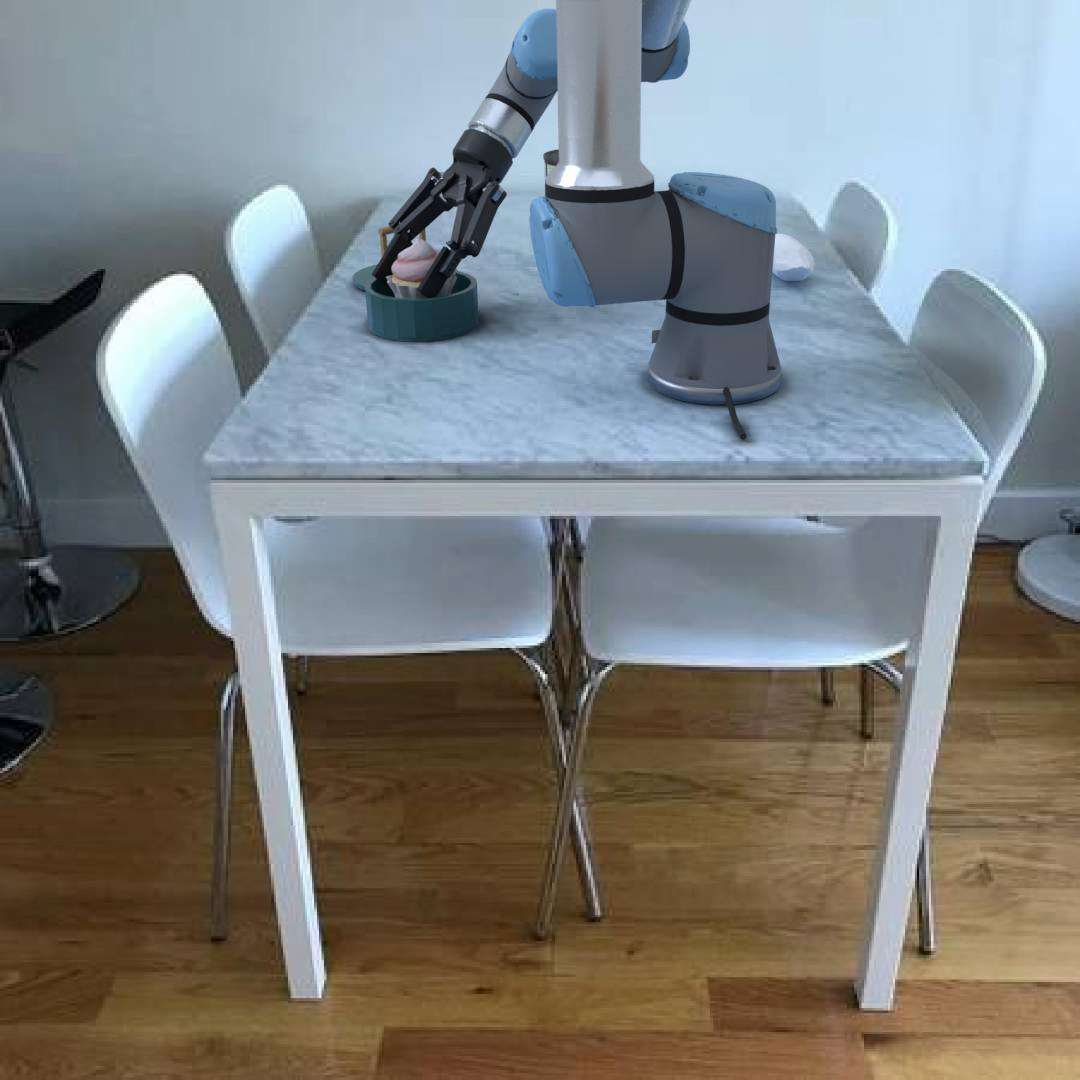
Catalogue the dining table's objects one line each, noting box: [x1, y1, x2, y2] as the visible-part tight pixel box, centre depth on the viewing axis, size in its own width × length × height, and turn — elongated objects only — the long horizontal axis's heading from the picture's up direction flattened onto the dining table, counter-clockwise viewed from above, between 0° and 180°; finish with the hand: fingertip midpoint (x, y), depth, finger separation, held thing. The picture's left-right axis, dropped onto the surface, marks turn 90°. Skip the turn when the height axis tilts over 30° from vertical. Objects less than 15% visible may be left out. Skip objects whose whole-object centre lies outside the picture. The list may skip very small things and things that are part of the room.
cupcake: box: [386, 236, 457, 299], centre depth 161 cm, size 9×9×10 cm
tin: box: [364, 270, 480, 343], centre depth 163 cm, size 15×15×6 cm
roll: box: [772, 233, 815, 282], centre depth 178 cm, size 6×12×6 cm, turn 7°
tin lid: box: [352, 225, 459, 291], centre depth 179 cm, size 16×16×9 cm
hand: (401, 287), depth 159 cm, fingers closed on cupcake, 9 cm apart
